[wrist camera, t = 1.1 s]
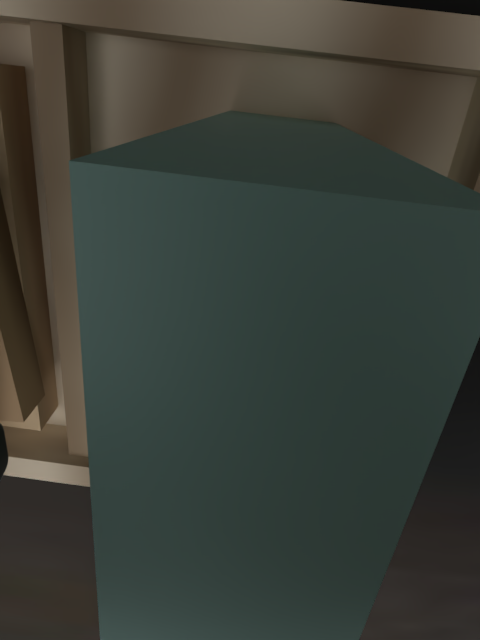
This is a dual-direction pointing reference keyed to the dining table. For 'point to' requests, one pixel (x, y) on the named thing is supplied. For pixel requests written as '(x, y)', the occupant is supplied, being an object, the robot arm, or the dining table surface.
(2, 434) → the robot arm
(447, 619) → the dining table surface
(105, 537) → the teal square block
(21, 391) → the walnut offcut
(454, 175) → the rack
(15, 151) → the oak offcut
